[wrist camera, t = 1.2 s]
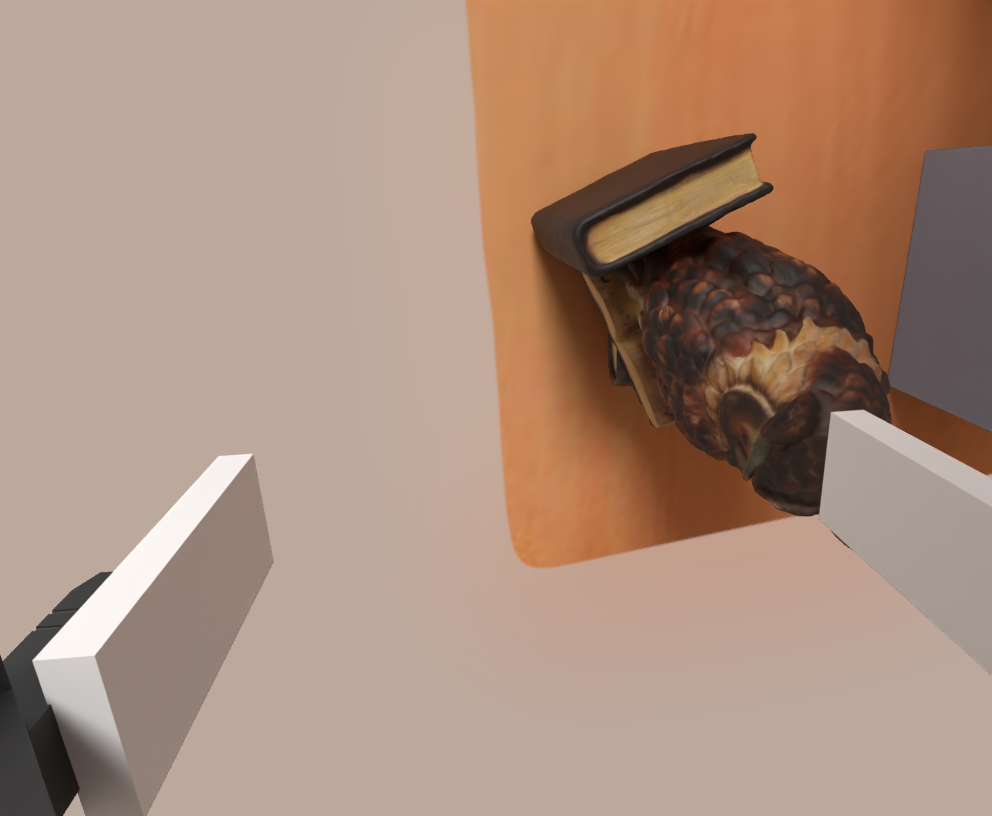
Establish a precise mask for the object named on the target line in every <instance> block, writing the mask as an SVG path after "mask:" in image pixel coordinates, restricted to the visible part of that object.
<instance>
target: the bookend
mask: <svg viewBox="0 0 992 816" xmlns="http://www.w3.org/2000/svg"><path fill="white" fill-rule="evenodd" d="M756 138H757V137H756V135H755V134H753V133H752V134H744V135H735V136H728V137H724V138H721V139H720V138H719V139H716V140H709V141H704V142H698V143H693V144H689V145H684V146H680V147H675V148H671V149H668V150H663V151H658V152H654V153H651V154H649V155H647V156H645V157H643V158H641V159H639V160H637V161H635V162H633V163H631V164H629V165H627V166H626V167H624V168H622V169H619V170H617V171H615V172H613V173H611V174H609V175H607V176H605V177H603V178H601V179H599V180H597V181H596V182H594V183H592V184H590V185H588V186H586V187H585V188H583V189H581V190H579V191H577V192H575V193H573V194H571V195H569V196H567V197H565V198H563V199H561V200H559V201H557V202H555V203H553V204H551V205H549V206H548V207H545V208H543V209H541V210H539V211H538V212H536V213H535V214H534V215H533V217H532V219H531V223H532V227H533V230H534V232H535V234H536V236H537V238H538V241H539V243H540V245H541V246H542V248H543V249H544V250H545V251H546V252H547V253H549V254H550V255H552V256H553V257H554V258H556V259H558V260H560V261H561V262H563V263H564V264H566V265H568V266H570V267H572V268H574V269H576V270H578V271H579V272H580V273H581V275H582V277H583V280H584V282H585V284H586V286H587V288H588V292H589V294H590V295H591V297H592V299H593V301H594V302H595V304H596V306H597V308H598V310H599V312H600V314H601V316H602V318H603V320H604V323H605V325H606V327H607V329H608V363H609V374H610V378H611V381H612V383H613V385H615V386H628V385H629V386H633V388H634V390H635V392H636V394H637V397H638V399H639V401H640V403H641V404H642V405H643V406H644V408H645V411H646V413H647V415H648V416H649V421H650V423H651V425H652V426H654V427H656V428H660V427H664V426H667V425H670V424H674V423H675V424H676V426H677V427H678V428H679V430H680V431H681V432H682V433H683V435H685V436H686V438H687V440H688V441H689V442H690V443H691V444H692V445H693V446H695V447H696V448H698V449H700V450H702V451H705V452H706V453H707V454H708V455H709V456H712V457H714V458H715V459H717V460H727V461H728V463H729V464H730V465H731V466H734V467H737V468H739V470H740V471H741V472H742V473H743V479H744V480H746V481H747V480H749V479H750V478H751V479H752V484H753V487H754V490H755V492H756V493H757V494H758V495H760V496H761V497H763V498H764V499H766V500H768V501H769V502H771V503H772V505H773V506H774V507H775V508H776V509H778V510H781V511H785V512H788V513H791V514H793V515H796V516H813V515H816V514H819V512H820V504H821V495H822V486H823V477H824V469H825V460H826V451H827V442H828V434H829V425H830V416H831V412H840V411H854V410H865V411H867V412H869V413H870V414H872V415H874V416H876V417H878V418H880V419H882V420H884V421H885V422H887V423H889V424H891V425H892V421H891V413H890V407H889V402H888V399H887V396H886V395H887V394H888V393H889V391H890V382H889V378H888V376H887V374H886V372H884V371H883V370H882V368H881V367H880V366H879V362H878V360H877V358H876V356H875V355H874V354H873V338H872V337H871V336H870V335H868V334H867V333H866V332H865V327H864V323H863V321H862V318H861V316H860V314H859V312H858V311H857V310H856V308H855V307H854V305H853V304H852V303H851V301H850V300H849V299H848V298H847V297H846V296H845V295H843V293H842V291H841V290H840V288H839V287H838V286H837V285H836V284H835V283H831V282H830V281H829V280H828V279H827V278H826V277H825V275H824V274H823V273H821V271H819V270H818V269H816V268H815V267H813V266H811V265H809V264H805V263H804V262H803V261H801V260H798V259H796V258H793V257H792V256H789V255H787V254H784V253H783V252H781V251H780V250H778V249H777V248H774V247H771V246H767V245H764V244H763V243H762V242H760V241H758V240H756V239H752V238H751V237H749V236H747V235H746V234H743V233H740V232H731V233H724V232H721V231H719V230H716V229H714V228H712V227H710V226H708V225H710V224H712V223H714V222H715V221H717V220H719V219H720V218H722V217H723V216H725V215H726V214H728V213H730V212H732V211H734V210H736V209H739V208H741V207H743V206H745V205H747V204H748V203H751V202H754V201H755V200H757V199H759V198H761V197H763V196H765V195H767V194H769V193H770V192H772V190H773V185H772V184H770V183H768V182H762V181H761V180H760V178H759V174H758V172H757V168H756V166H755V161H754V159H753V155H752V150H751V144H752V143H753V141H754V140H755V139H756ZM832 533H833V532H832ZM833 534H834V533H833ZM834 535H835V534H834ZM835 536H836V537H837V538H838V539H839V540H840V541H841V542H842V543H843V544H844V545H846V544H845V543H844V542H843V541H842V540H841V539H840V538H839V537H838V536H837V535H835ZM846 546H847V547H848V548H850V547H849V546H848V545H846ZM850 549H851V548H850ZM851 550H852V549H851Z"/></svg>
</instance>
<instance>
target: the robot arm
mask: <svg viewBox="0 0 992 816" xmlns="http://www.w3.org/2000/svg"><path fill="white" fill-rule="evenodd" d="M819 520H820V521H821V522H822V523H823V524H824V525H825V526H827V527H828V528H829V529H830V530H831V531H832V532H833V533H834V534H835V535H837V536H838V537H839V538H840V539H841V540H842V541H843V542H844V543H845V544H846V545H848V546H849V547H850V548H851V549H852V550H853V551H854V552H855V553H856V554H858V555H859V556H860V557H861V558H862V559H863V560H864V561H866V563H868V564H869V565H870V566H871V567H872V568H873V569H874V570H875V571H876V572H877V573H878V574H880V575H881V576H882V577H883V578H884V579H885V580H886V581H887V582H888V583H889V584H891V585H892V586H893V587H894V588H895V589H896V590H897V591H898V592H899V593H901V594H902V595H903V596H904V597H905V598H906V599H907V600H908V601H910V603H912V604H913V605H914V606H915V607H916V608H917V609H918V610H919V611H920V612H921V613H923V614H924V615H925V616H926V617H927V618H928V619H929V620H930V621H931V622H933V623H934V624H935V625H936V626H937V627H938V628H939V629H940V630H941V631H942V632H944V633H945V634H946V635H947V636H948V637H949V638H950V639H951V640H952V641H954V642H955V643H956V644H957V645H958V646H959V647H960V648H961V649H962V650H964V651H965V652H966V653H967V654H968V655H969V656H970V657H971V658H973V660H974V661H976V662H977V663H978V664H979V665H980V666H981V667H982V668H983V669H985V670H986V671H987V672H988V673H989V674H990V675H991V676H992V478H990V477H988V476H986V475H984V474H983V473H981V472H979V471H977V470H975V469H973V468H971V467H970V466H968V465H966V464H964V463H962V462H960V461H958V460H956V459H955V458H953V457H951V456H949V455H947V454H945V453H943V452H941V451H940V450H938V449H936V448H934V447H932V446H930V445H928V444H927V443H925V442H923V441H921V440H919V439H917V438H915V437H913V436H912V435H910V434H908V433H906V432H904V431H902V430H900V429H899V428H897V427H895V426H893V425H891V424H889V423H887V422H885V421H884V420H882V419H880V418H878V417H876V416H874V415H872V414H870V413H869V412H867V411H865V410H854V411H840V412H831V416H830V425H829V434H828V442H827V451H826V460H825V469H824V477H823V486H822V495H821V504H820V512H819ZM273 562H274V561H273V555H272V550H271V545H270V539H269V534H268V529H267V523H266V518H265V513H264V508H263V502H262V497H261V492H260V487H259V481H258V476H257V470H256V465H255V460H254V454H244V455H230V456H219V457H217V459H216V460H215V461H214V462H213V463H212V464H211V465H210V466H209V467H208V469H207V470H206V471H205V472H204V473H203V474H202V475H201V476H200V477H199V479H198V480H197V481H196V482H195V483H194V484H193V485H192V486H191V487H190V488H189V489H188V490H187V491H186V493H185V494H184V495H183V496H182V497H181V498H180V499H179V500H178V501H177V502H176V504H175V505H174V506H173V507H172V508H171V509H170V510H169V512H167V513H166V515H165V516H164V517H163V518H162V519H161V520H160V521H159V522H158V523H157V524H156V526H155V527H154V528H153V529H152V530H151V531H150V532H149V534H147V535H146V536H145V538H144V539H143V540H142V541H141V542H140V543H139V544H138V545H137V547H135V549H134V550H133V551H132V552H131V553H130V554H129V555H128V556H127V557H126V558H125V560H124V561H123V562H122V563H121V564H120V565H119V566H118V567H117V568H116V569H115V571H114V572H101V573H99V574H97V575H96V576H94V577H92V578H91V579H89V580H88V581H86V582H85V583H83V584H81V585H80V586H78V587H77V588H75V589H74V590H72V591H71V592H70V593H69V594H68V595H67V596H66V597H65V598H64V599H63V600H62V601H61V602H60V603H59V604H58V605H57V606H56V607H55V608H54V609H53V610H52V611H53V612H52V614H48V615H47V616H46V617H45V619H44V620H43V621H42V622H41V623H40V624H39V625H38V626H37V627H36V631H32V632H31V633H30V634H29V635H28V636H27V637H26V638H25V639H24V640H23V641H22V642H21V643H20V644H19V645H18V646H17V647H16V648H15V649H14V650H13V652H11V653H10V654H9V656H8V657H7V658H6V659H5V660H4V661H2V658H1V656H0V816H63V814H64V813H65V811H66V809H67V808H68V807H69V805H70V803H71V802H72V800H73V799H74V797H75V796H76V794H77V792H78V795H79V798H80V801H81V804H82V807H83V809H84V813H85V815H86V816H147V814H148V812H149V810H150V808H151V806H152V804H153V802H154V800H155V798H156V796H157V794H158V792H159V790H160V788H161V786H162V784H163V782H164V780H165V778H166V776H167V774H168V772H169V770H170V768H171V766H172V764H173V762H174V760H175V758H176V756H177V754H178V752H179V750H180V748H181V746H182V744H183V742H184V740H185V738H186V736H187V734H188V732H189V730H190V728H191V726H192V724H193V722H194V720H195V718H196V716H197V714H198V712H199V710H200V708H201V706H202V704H203V702H204V700H205V698H206V696H207V694H208V692H209V690H210V688H211V686H212V684H213V682H214V680H215V678H216V676H217V674H218V672H219V670H220V668H221V666H222V664H223V662H224V660H225V658H226V656H227V654H228V652H229V650H230V648H231V646H232V644H233V642H234V640H235V638H236V636H237V634H238V632H239V630H240V628H241V626H242V624H243V622H244V620H245V618H246V616H247V614H248V612H249V610H250V608H251V606H252V604H253V602H254V600H255V598H256V596H257V594H258V592H259V590H260V588H261V586H262V584H263V582H264V580H265V578H266V576H267V574H268V572H269V570H270V568H271V566H272V564H273Z"/></svg>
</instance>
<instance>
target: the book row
mask: <svg viewBox="0 0 992 816" xmlns="http://www.w3.org/2000/svg"><path fill="white" fill-rule="evenodd" d="M888 378H889V382H890V386H891V387H893V388H895V389H897V390H900V391H902V392H904V393H906V394H908V395H911V396H913V397H915V398H917V399H919V400H922V401H924V402H926V403H928V404H931V405H933V406H935V407H937V408H939V409H942V410H944V411H946V412H948V413H950V414H953V415H955V416H957V417H959V418H961V419H964V420H966V421H968V422H970V423H972V424H975V425H977V426H979V427H981V428H983V429H986V430H988V431H990V432H992V145H988V146H976V147H965V148H953V149H942V150H930V151H926V152H925V159H924V165H923V171H922V177H921V183H920V189H919V195H918V201H917V207H916V213H915V219H914V225H913V231H912V237H911V243H910V249H909V255H908V261H907V267H906V273H905V279H904V285H903V291H902V297H901V303H900V309H899V315H898V321H897V327H896V333H895V339H894V345H893V351H892V357H891V363H890V369H889V375H888Z"/></svg>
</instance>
